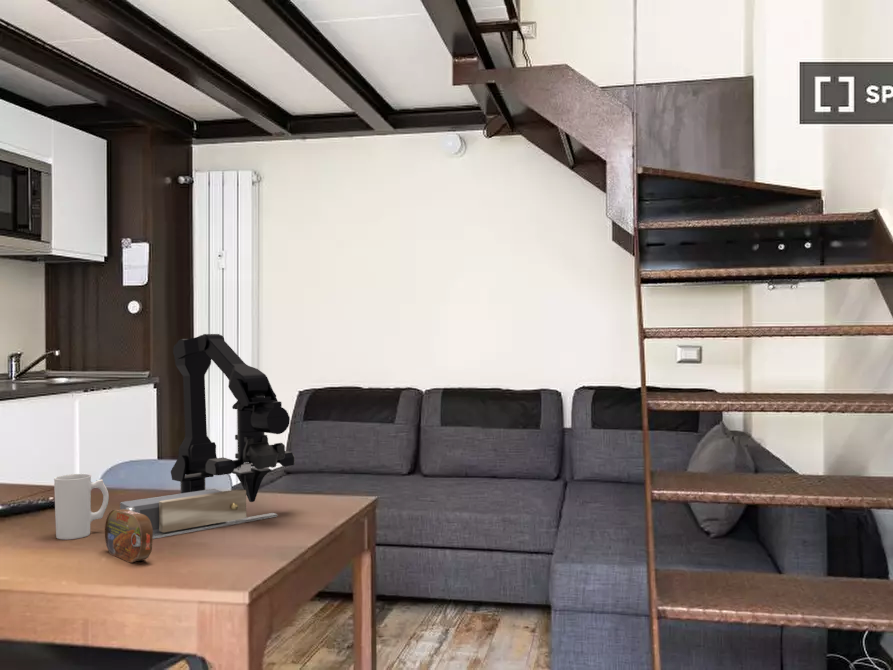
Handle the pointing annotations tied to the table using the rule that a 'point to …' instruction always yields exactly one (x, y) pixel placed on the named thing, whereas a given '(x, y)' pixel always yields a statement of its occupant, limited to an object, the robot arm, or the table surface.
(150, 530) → the tin
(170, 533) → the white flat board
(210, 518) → the door
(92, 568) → the table surface
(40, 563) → the table surface
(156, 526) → the cabinet
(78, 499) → the mug
